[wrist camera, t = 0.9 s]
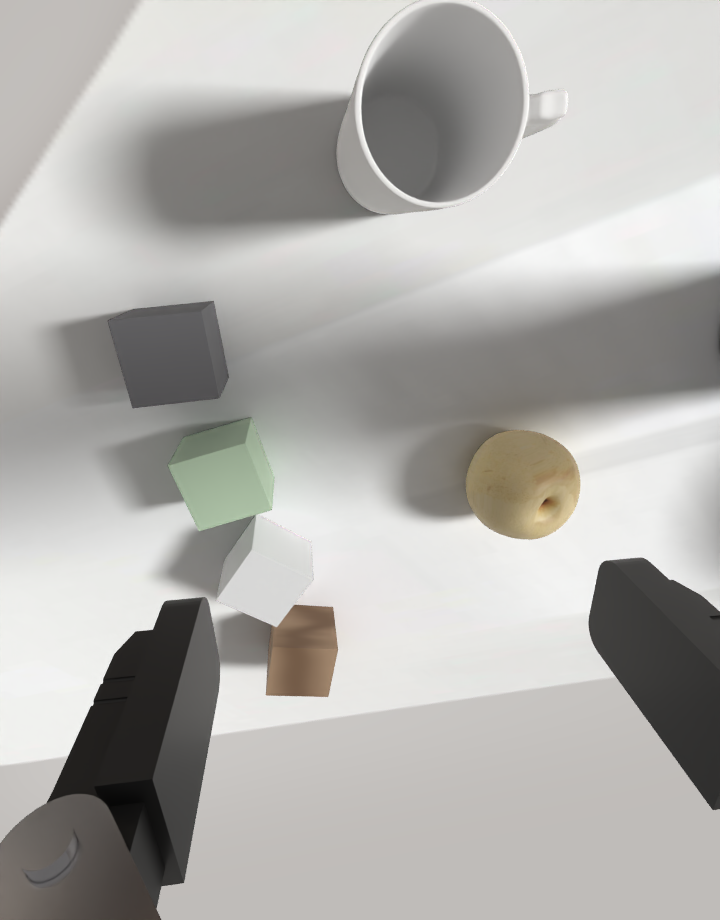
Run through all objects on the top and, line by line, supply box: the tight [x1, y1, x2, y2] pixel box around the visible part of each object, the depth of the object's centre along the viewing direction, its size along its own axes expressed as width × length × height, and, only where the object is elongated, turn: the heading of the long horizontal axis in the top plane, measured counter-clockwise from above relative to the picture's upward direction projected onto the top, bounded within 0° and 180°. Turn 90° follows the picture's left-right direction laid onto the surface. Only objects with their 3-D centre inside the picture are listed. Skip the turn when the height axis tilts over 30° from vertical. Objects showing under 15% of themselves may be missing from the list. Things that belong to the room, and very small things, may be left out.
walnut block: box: [266, 605, 338, 697], centre depth 41 cm, size 5×5×5 cm
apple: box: [466, 430, 580, 539], centre depth 37 cm, size 8×8×8 cm
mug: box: [336, 0, 568, 214], centre depth 24 cm, size 10×7×12 cm, turn 95°
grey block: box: [216, 514, 314, 627], centre depth 38 cm, size 5×5×5 cm
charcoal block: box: [108, 301, 229, 408], centre depth 30 cm, size 5×5×5 cm
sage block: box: [168, 417, 274, 531], centre depth 34 cm, size 5×5×5 cm
